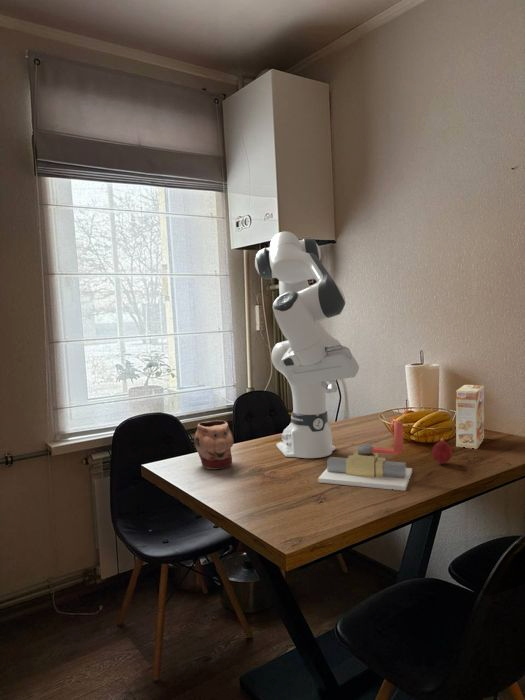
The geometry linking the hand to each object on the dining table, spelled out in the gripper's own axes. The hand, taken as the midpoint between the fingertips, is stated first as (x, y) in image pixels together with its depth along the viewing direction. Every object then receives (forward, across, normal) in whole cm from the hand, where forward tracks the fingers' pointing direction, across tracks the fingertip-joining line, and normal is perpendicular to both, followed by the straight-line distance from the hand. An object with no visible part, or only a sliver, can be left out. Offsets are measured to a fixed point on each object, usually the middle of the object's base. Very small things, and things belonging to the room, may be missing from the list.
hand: (332, 391), depth 141 cm
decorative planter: (+16, +47, +10) cm, 51 cm away
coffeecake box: (+58, -14, -39) cm, 71 cm away
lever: (+24, -5, -1) cm, 24 cm away
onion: (+43, -14, -15) cm, 47 cm away
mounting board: (+29, +1, +3) cm, 29 cm away
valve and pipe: (+29, +1, +3) cm, 29 cm away
